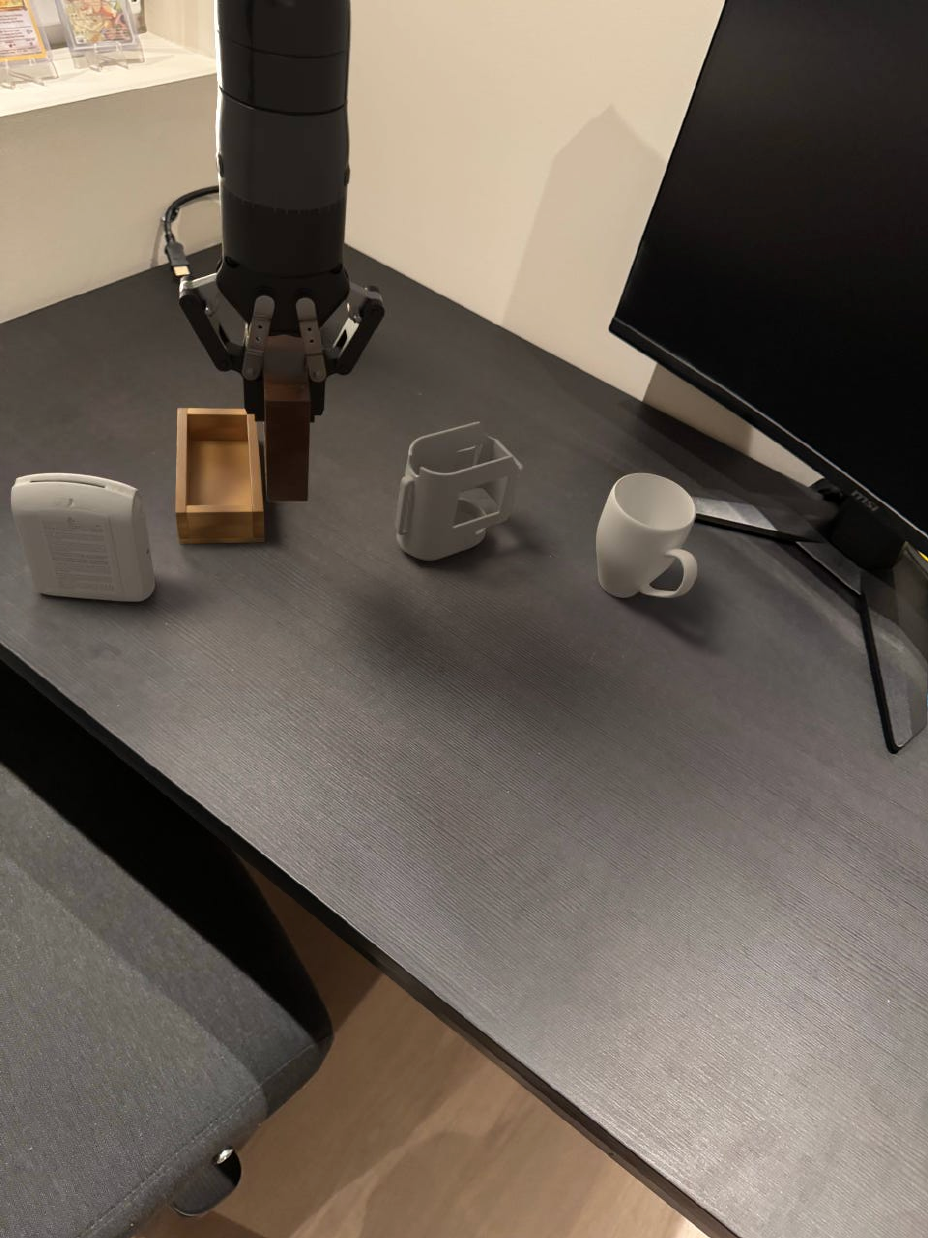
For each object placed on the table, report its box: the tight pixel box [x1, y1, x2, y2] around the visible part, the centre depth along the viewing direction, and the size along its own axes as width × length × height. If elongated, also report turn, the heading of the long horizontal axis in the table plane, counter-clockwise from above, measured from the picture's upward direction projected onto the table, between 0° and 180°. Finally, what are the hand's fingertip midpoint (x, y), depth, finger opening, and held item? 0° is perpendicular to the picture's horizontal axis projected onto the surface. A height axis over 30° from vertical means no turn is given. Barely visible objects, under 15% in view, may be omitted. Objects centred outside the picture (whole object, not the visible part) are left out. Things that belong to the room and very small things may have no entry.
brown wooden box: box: [262, 334, 311, 502], centre depth 62 cm, size 3×10×9 cm, turn 10°
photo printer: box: [10, 472, 156, 603], centre depth 72 cm, size 10×4×12 cm, turn 92°
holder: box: [174, 407, 265, 545], centre depth 86 cm, size 8×16×4 cm, turn 11°
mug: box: [595, 472, 698, 599], centre depth 82 cm, size 12×8×11 cm
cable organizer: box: [394, 420, 524, 562], centre depth 83 cm, size 7×12×12 cm, turn 123°
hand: (283, 414), depth 63 cm, fingers closed on brown wooden box, 3 cm apart
